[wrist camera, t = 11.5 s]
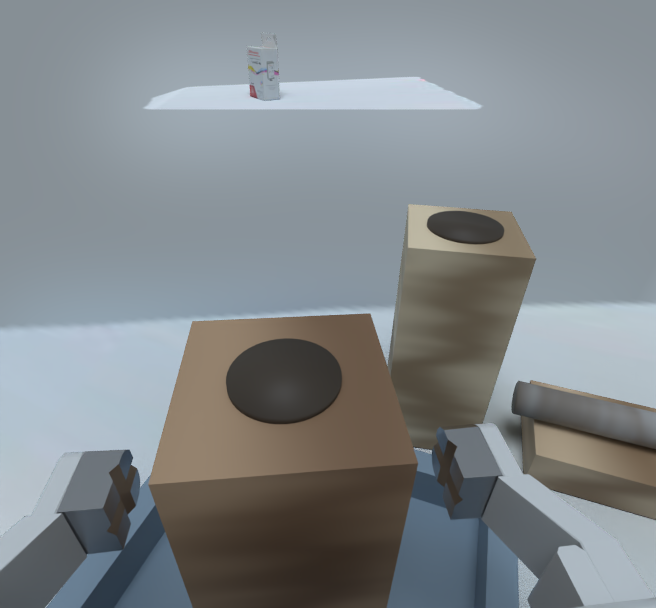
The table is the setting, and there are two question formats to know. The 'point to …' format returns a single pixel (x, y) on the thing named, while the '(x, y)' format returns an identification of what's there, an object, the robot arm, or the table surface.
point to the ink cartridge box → (264, 69)
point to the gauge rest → (589, 445)
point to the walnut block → (284, 465)
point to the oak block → (454, 314)
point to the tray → (407, 586)
